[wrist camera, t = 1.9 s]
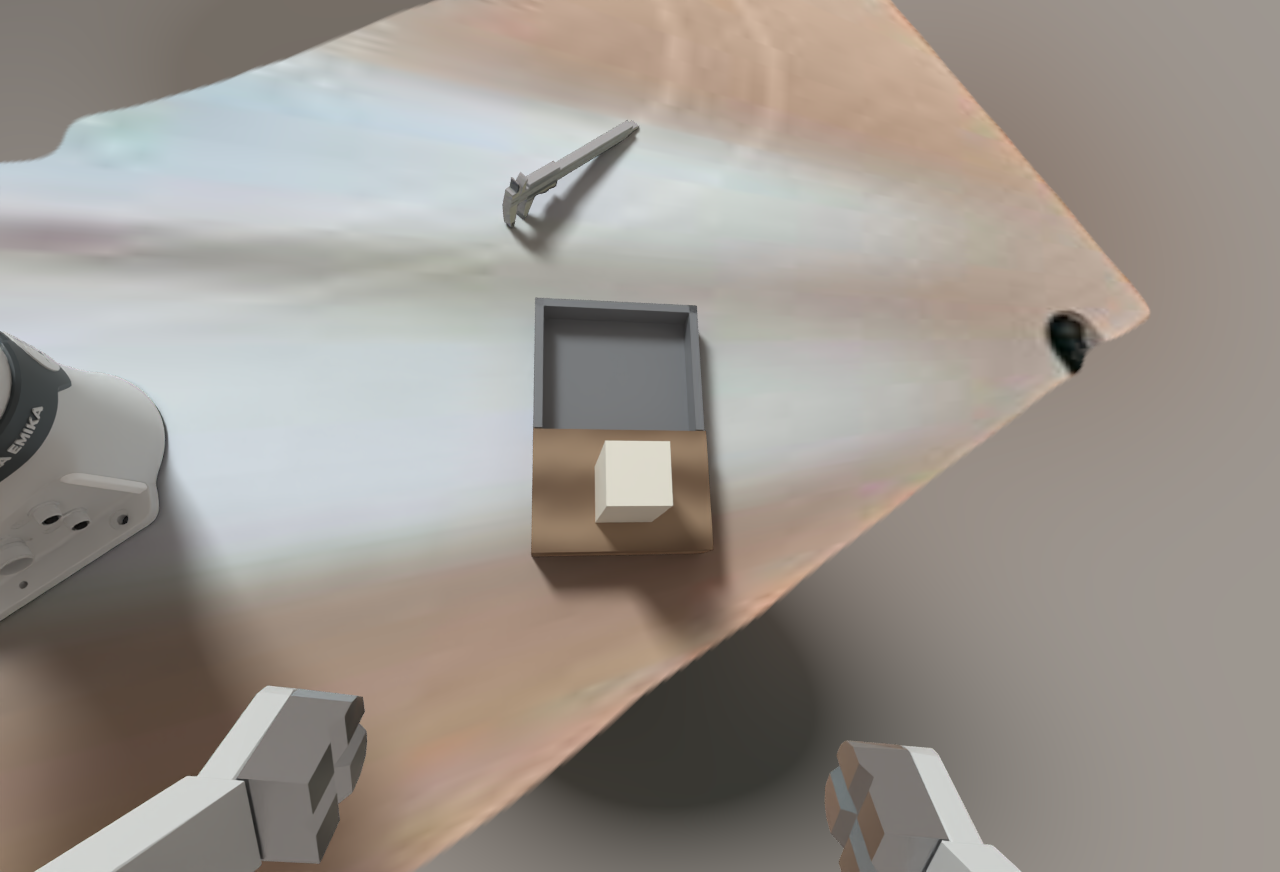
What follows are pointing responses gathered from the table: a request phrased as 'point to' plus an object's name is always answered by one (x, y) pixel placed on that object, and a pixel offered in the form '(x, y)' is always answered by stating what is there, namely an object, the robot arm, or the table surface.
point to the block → (633, 481)
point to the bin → (616, 366)
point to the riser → (571, 496)
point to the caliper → (556, 172)
